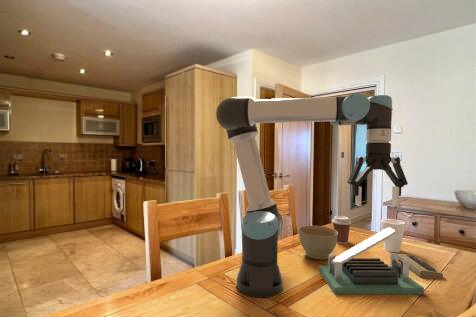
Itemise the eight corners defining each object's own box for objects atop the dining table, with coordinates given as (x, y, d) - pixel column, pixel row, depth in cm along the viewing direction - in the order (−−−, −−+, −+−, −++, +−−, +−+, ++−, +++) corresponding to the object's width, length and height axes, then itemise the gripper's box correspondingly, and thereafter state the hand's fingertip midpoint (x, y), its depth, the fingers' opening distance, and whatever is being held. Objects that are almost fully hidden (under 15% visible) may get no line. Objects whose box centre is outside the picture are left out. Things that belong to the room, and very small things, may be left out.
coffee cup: (335, 244, 128) (335, 219, 128) (328, 238, 137) (329, 215, 137) (354, 244, 128) (354, 219, 128) (346, 238, 138) (346, 215, 137)
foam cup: (404, 248, 123) (405, 220, 123) (404, 255, 116) (405, 225, 115) (381, 244, 128) (381, 217, 128) (379, 250, 121) (380, 222, 120)
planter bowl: (341, 264, 106) (341, 237, 105) (299, 261, 108) (299, 235, 108) (333, 250, 121) (334, 226, 121) (297, 247, 124) (297, 224, 124)
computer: (443, 279, 95) (443, 270, 95) (419, 278, 95) (420, 269, 95) (416, 261, 111) (416, 253, 110) (396, 260, 111) (396, 252, 111)
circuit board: (334, 293, 84) (334, 287, 84) (318, 271, 100) (318, 265, 100) (423, 294, 84) (424, 287, 84) (394, 271, 100) (394, 266, 100)
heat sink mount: (338, 287, 86) (338, 264, 86) (326, 270, 98) (326, 250, 98) (413, 287, 86) (413, 264, 86) (391, 271, 98) (392, 250, 98)
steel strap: (336, 268, 90) (333, 264, 90) (332, 263, 94) (329, 259, 94) (397, 234, 90) (394, 230, 89) (390, 230, 94) (388, 226, 93)
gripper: (347, 141, 87) (345, 207, 88) (421, 142, 87) (419, 208, 88) (338, 142, 95) (337, 203, 95) (406, 143, 95) (404, 203, 96)
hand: (376, 205), depth 92 cm, fingers open, 12 cm apart
